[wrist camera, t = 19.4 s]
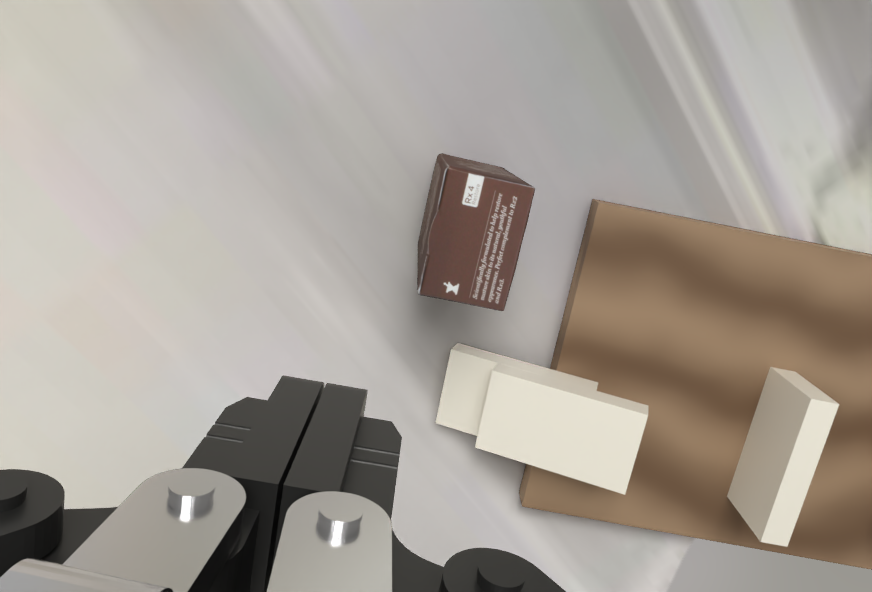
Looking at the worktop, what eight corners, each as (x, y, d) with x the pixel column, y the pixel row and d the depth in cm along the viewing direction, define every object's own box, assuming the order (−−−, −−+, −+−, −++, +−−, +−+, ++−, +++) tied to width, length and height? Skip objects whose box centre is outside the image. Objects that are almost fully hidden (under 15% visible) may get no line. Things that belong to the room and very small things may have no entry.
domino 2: (626, 482, 42) (480, 437, 44) (648, 405, 41) (497, 362, 43) (624, 494, 41) (474, 447, 43) (648, 415, 39) (492, 370, 42)
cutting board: (592, 198, 43) (598, 202, 41) (1018, 283, 44) (1042, 290, 42) (518, 491, 48) (521, 506, 46) (903, 561, 49) (920, 578, 47)
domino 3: (770, 366, 44) (727, 496, 46) (811, 398, 39) (760, 541, 41) (795, 371, 44) (750, 500, 46) (839, 404, 39) (787, 546, 41)
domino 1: (578, 456, 44) (442, 414, 47) (598, 382, 43) (457, 342, 45) (575, 466, 43) (435, 423, 45) (596, 390, 42) (450, 349, 44)
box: (488, 262, 44) (504, 316, 32) (416, 246, 44) (407, 295, 32) (512, 165, 43) (539, 186, 31) (438, 148, 42) (437, 162, 31)
